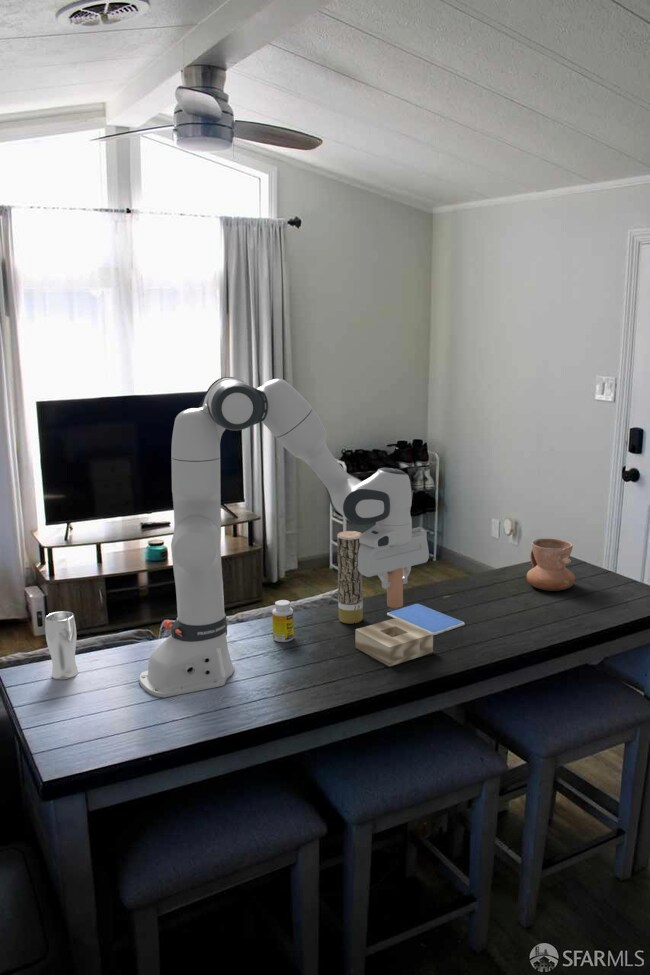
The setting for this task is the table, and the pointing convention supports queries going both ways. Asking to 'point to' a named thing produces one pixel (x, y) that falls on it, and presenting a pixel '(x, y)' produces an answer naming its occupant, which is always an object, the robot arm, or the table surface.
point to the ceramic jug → (550, 565)
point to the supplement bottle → (283, 621)
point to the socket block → (394, 641)
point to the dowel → (395, 588)
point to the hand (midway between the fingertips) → (394, 585)
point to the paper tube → (349, 578)
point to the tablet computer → (426, 618)
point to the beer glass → (61, 644)
